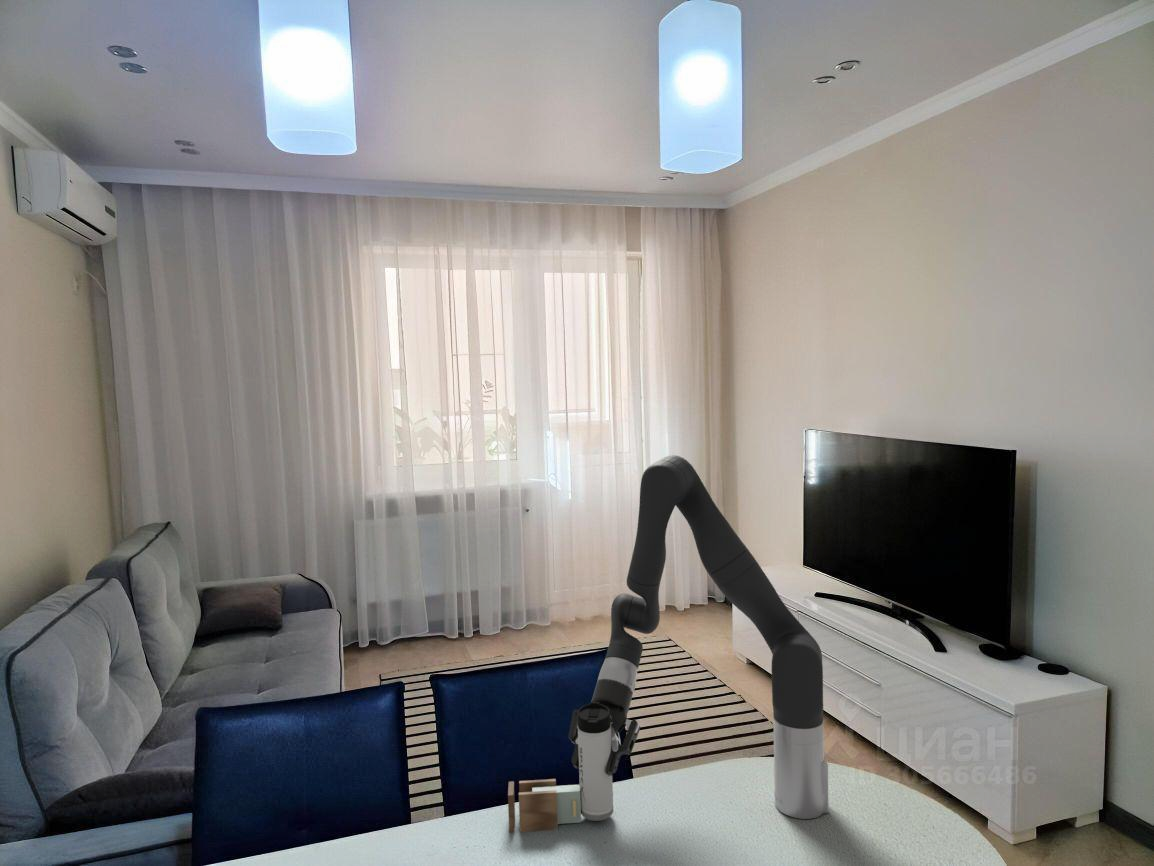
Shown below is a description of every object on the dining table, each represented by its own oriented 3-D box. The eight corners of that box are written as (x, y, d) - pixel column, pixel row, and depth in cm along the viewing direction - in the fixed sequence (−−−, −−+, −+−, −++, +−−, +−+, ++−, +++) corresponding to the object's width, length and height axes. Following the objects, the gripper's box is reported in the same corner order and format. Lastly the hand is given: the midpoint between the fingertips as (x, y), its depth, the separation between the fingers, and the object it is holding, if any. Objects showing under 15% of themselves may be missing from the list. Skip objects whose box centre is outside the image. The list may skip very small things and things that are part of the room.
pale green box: (580, 815, 140) (579, 784, 140) (581, 824, 137) (580, 792, 137) (533, 818, 140) (532, 787, 139) (533, 827, 137) (532, 795, 136)
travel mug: (614, 802, 142) (611, 701, 142) (612, 822, 136) (609, 716, 135) (582, 801, 143) (579, 701, 142) (578, 820, 137) (575, 715, 136)
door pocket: (556, 814, 141) (555, 778, 141) (557, 829, 136) (556, 792, 136) (509, 817, 141) (508, 781, 140) (509, 832, 136) (507, 795, 135)
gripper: (577, 672, 148) (551, 756, 138) (643, 682, 142) (621, 770, 132) (589, 689, 153) (565, 770, 143) (653, 699, 147) (633, 785, 137)
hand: (592, 770), depth 138 cm, fingers closed on travel mug, 6 cm apart
